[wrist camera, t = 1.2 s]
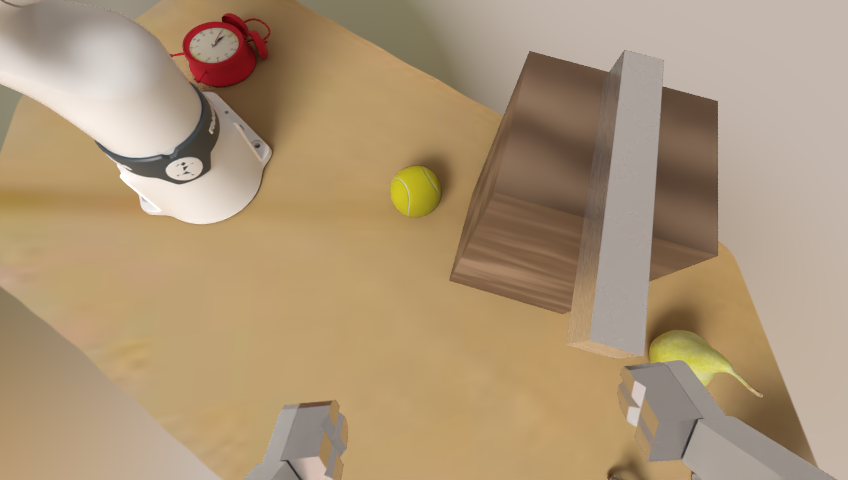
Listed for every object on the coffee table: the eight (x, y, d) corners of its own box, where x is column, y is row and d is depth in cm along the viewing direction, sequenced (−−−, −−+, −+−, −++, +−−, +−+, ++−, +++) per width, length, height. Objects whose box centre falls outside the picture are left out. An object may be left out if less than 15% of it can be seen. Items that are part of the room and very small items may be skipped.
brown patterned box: (567, 315, 50) (726, 258, 26) (449, 280, 51) (494, 192, 26) (580, 224, 55) (724, 103, 30) (472, 193, 55) (529, 51, 31)
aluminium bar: (613, 358, 23) (643, 356, 20) (566, 344, 23) (589, 340, 20) (639, 89, 30) (664, 60, 28) (604, 79, 30) (624, 49, 28)
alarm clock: (158, 48, 57) (226, -19, 58) (187, 73, 63) (248, 12, 64) (200, 86, 55) (270, 16, 56) (226, 108, 61) (288, 45, 62)
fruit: (671, 327, 50) (749, 313, 39) (700, 383, 48) (792, 386, 37) (628, 342, 49) (697, 332, 38) (656, 400, 47) (737, 408, 36)
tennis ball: (424, 175, 56) (427, 148, 50) (446, 212, 54) (453, 190, 48) (383, 193, 55) (380, 168, 48) (404, 232, 53) (404, 212, 46)
